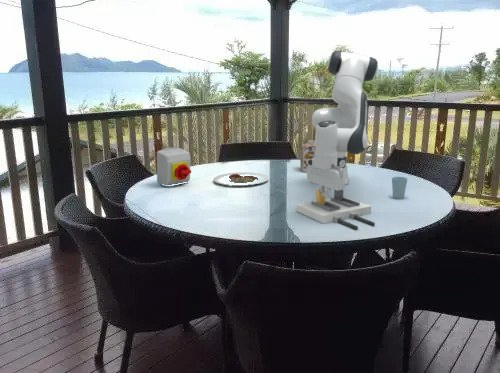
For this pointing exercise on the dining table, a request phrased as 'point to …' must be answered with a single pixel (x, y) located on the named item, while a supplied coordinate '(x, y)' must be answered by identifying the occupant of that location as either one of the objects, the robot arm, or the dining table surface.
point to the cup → (399, 187)
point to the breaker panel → (332, 209)
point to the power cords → (352, 216)
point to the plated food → (241, 178)
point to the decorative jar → (307, 154)
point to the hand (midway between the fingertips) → (325, 196)
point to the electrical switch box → (173, 166)
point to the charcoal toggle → (338, 195)
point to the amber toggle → (320, 198)
